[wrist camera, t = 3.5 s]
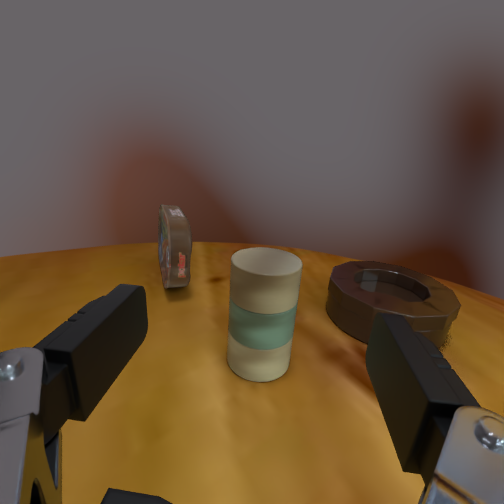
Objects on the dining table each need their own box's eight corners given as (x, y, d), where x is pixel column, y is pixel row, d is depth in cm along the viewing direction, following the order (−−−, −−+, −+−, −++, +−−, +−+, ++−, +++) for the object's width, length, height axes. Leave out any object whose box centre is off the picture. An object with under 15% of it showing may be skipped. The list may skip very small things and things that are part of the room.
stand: (317, 331, 28) (324, 295, 27) (332, 282, 39) (337, 254, 38) (459, 370, 25) (475, 331, 23) (433, 304, 35) (443, 274, 34)
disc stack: (216, 369, 23) (218, 264, 20) (241, 332, 28) (247, 243, 24) (279, 391, 21) (293, 281, 18) (295, 348, 26) (309, 254, 23)
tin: (157, 252, 45) (154, 198, 42) (178, 251, 46) (177, 198, 43) (166, 303, 32) (162, 228, 29) (195, 299, 33) (195, 227, 30)
